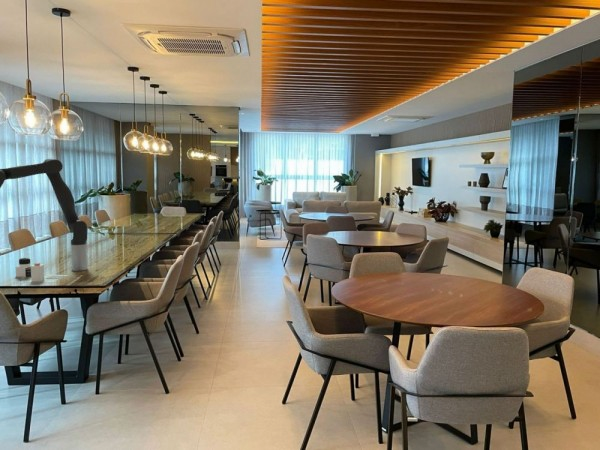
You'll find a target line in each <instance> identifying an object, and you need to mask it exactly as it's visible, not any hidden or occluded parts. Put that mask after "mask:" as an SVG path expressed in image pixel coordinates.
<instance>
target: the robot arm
mask: <svg viewBox="0 0 600 450" xmlns="http://www.w3.org/2000/svg"><path fill="white" fill-rule="evenodd" d="M62 170H63V162H62V161H61V160H60V159H57V158H46V159H44V161H43V162H39V163H34V164H24V165H23V164H22V165H16V166H10V167H7V168H0V189H1V188H2V186H3V185H4V183H5V181H6V180H16V179H22V178H27V177H31V176H35V175H42V174H46V176H47V178H48V180H49V182H50V184H51V187H52V189H53V192H54V195H55V197H56V200H57V203H58V204H59V207H60V209H61V211H62V212H63V216H64V218H65V221H66V224H67V228H68V229H69V232H71V233H72V238H71V240H70V253H71V255H70V256H71V271H74V272H75V271H76V272H77V271H78V272H80V271H86V270H88V255H87V254H88V253H87V252H88V251H87V241H88V225H87V223H86V221H84V220H81V219H79V216H78V214H77V212H76V204H75V198H74V196H73V193H72V191H71V189H70V187H69V186H68V185H67V184H66V182H65V181H64V180H63V177H62V175H61V173H60V172H61V171H62Z"/></svg>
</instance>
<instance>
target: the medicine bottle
mask: <svg viewBox="0 0 600 450" xmlns="http://www.w3.org/2000/svg"><path fill="white" fill-rule="evenodd" d="M31 264H32V263H31V258H30V257H21V258H19V259H18V266H16V267H15V277H17V278H28V277H31V266H32V265H33V264H32V265H31Z"/></svg>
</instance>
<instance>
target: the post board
mask: <svg viewBox="0 0 600 450" xmlns="http://www.w3.org/2000/svg"><path fill="white" fill-rule="evenodd" d="M68 276H69V274H45V273H44V280H42V281H31V279H30V280H28V281H26V283H54V282H57V281H59V280H60V279H63V278H65V277H68Z"/></svg>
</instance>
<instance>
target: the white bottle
mask: <svg viewBox="0 0 600 450" xmlns="http://www.w3.org/2000/svg"><path fill="white" fill-rule="evenodd" d="M44 275H45V264H43V263H42V264H41V263H40V262H36V263H34V264H32V266H31V276H30V277H31V278H30V280H31V281H42V280H44Z"/></svg>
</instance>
